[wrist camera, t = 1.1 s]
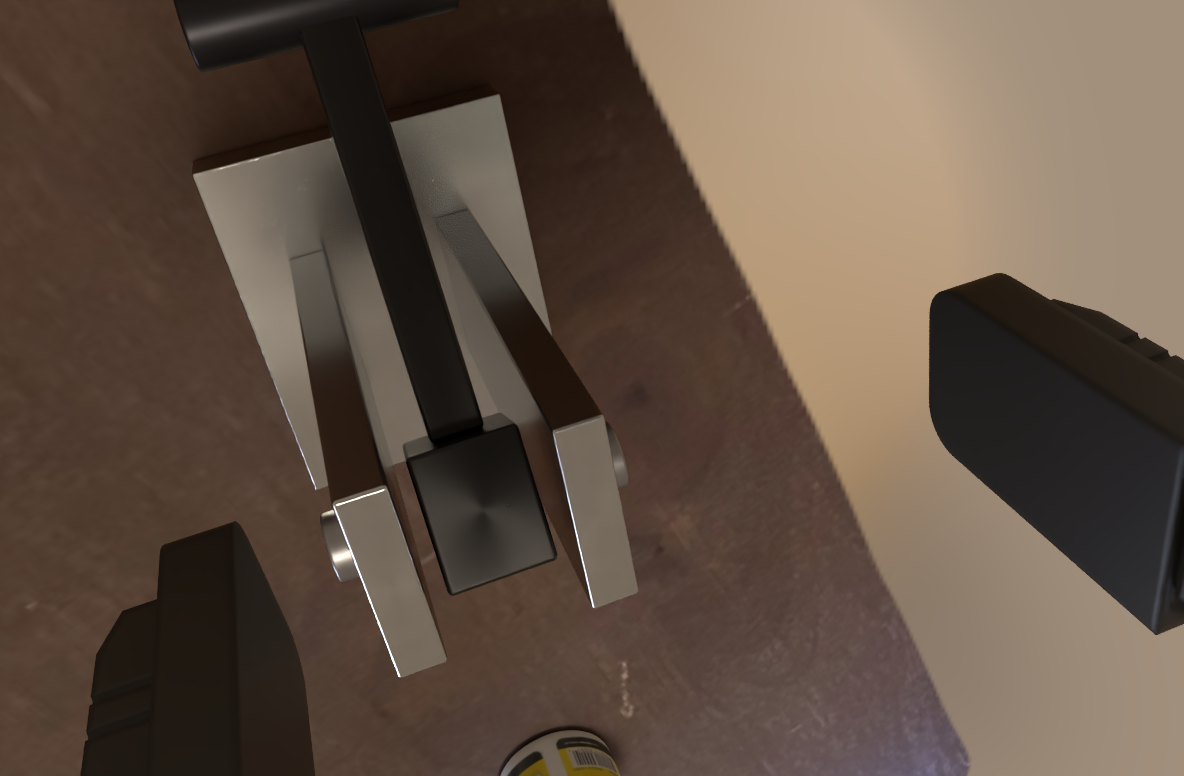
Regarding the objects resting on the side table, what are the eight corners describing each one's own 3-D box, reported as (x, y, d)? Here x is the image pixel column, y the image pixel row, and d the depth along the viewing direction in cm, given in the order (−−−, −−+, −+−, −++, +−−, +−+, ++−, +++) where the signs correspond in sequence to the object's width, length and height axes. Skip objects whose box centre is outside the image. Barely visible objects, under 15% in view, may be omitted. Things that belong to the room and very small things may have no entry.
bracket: (191, 160, 27) (180, 394, 16) (489, 83, 28) (661, 250, 17) (312, 469, 32) (364, 800, 21) (558, 391, 33) (722, 663, 23)
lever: (185, 13, 20) (160, -28, 18) (432, -46, 21) (440, -91, 19) (377, 590, 22) (378, 623, 19) (600, 513, 23) (627, 536, 20)
